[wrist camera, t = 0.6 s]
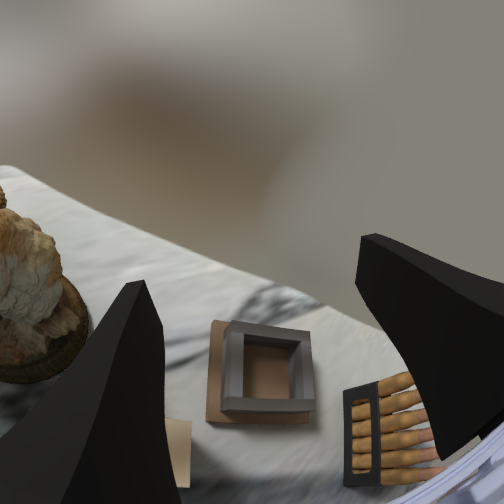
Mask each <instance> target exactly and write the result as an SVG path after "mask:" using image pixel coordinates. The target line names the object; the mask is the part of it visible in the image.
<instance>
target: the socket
mask: <svg viewBox="0 0 504 504" xmlns="http://www.w3.org/2000/svg"><path fill="white" fill-rule="evenodd" d="M314 410H315V399H314V381H313V366H312V352H311V339H310V331H302V330H294V329H287V328H280V327H272V326H266V325H259V324H252V323H246V322H240V321H234V320H232V321H231V322H225V321H219V320H214V321H213V322H212V323H211V336H210V350H209V366H208V383H207V402H206V422H218V423H235V424H302V423H309V419H308V412H310V411H314Z"/></svg>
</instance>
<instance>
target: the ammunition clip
mask: <svg viewBox="0 0 504 504" xmlns="http://www.w3.org/2000/svg"><path fill="white" fill-rule="evenodd" d="M414 384H415V383H414V380H413V378H412V376H411V374H410V372H409V371H407V372H402V373H399V374H396V375H394V376H391V377H389V378H386V379H383V380H381V381H376V382H372V383H369V384H365V385H362V386H358V387H354V388H351V389H347V390H344V391H343V408H344V478H343V485H344V486H380V485H405V484H411V483H414V482H422V481H427V480H429V479H430V478H432V477H433V476H435V475H436V474H438V473H439V472H441V471H442V470H444V469H445V467H428V468H413V467H407V468H394V467H405V466H410V465H413V464H417V463H423V462H427V461H432V460H435V459H439V456H438V454H437V451H436V447H431V448H425V449H424V448H422V449H403V450H396V451H394V450H395V449H402V448H408V447H411V446H413V445H416V444H420V443H423V442H428V441H432V440H434V437H433V433H432V430H431V427H429V428H425V429H418V430H405V431H400V432H394V431H399V430H404V429H408V428H410V427H412V426H414V425H417V424H421V423H423V422H427V421H429V419H428V416H427V413H426V410H425V408H423V409H418V410H414V411H404V412H400V413H396V414H392V413H394V412H398V411H401V410H405V409H408V408H410V407H412V406H413V405H416V404H418V403H421V402H422V399H421V397H420V394H419V392H418V390H417V389H416V390H412V391H405V392H402V393H398V394H395V395H392V396H391V394H394V393H397V392H400V391H402V390H405V389H407V388H409V387H411V386H412V385H414ZM379 398H381V399H379ZM368 401H370V402H368ZM365 402H368V403H365ZM383 415H384V417H380V416H383ZM370 418H371V419H370ZM365 419H370V420H365ZM393 432H394V433H393ZM383 433H384V434H383ZM381 434H383V435H381ZM366 436H369V437H366ZM381 451H385V452H381ZM369 452H371V453H369ZM381 468H382V469H381Z"/></svg>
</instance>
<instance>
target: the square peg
mask: <svg viewBox="0 0 504 504" xmlns="http://www.w3.org/2000/svg"><path fill="white" fill-rule="evenodd" d="M165 427H166V434H167V440H168V447H169V452H170V458H171V463H172V468H173V472H174V477H175V481H176V485H177V487H186V488H190V457H191V432H192V421H185V420H177V419H170V418H165Z"/></svg>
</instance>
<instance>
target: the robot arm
mask: <svg viewBox="0 0 504 504" xmlns="http://www.w3.org/2000/svg"><path fill="white" fill-rule="evenodd" d="M355 284H356V286H357V288H358V290H359V292H360V294H361V296H362V298H363V300H364V302H365V303H366V305H367V307H368V308H369V310H370V311H371V313H372V314H373V316H374V317H375V319H376V320H377V321H378V323H379V324H380V326H381V327H382V328H383V330H384V331H385V333H386V334H387V336H388V337H389V339H390V340H391V341H392V343H393V344H394V346H395V347H396V349H397V350H398V352H399V353H400V355H401V357H402V358H403V360H404V362H405V364H406V366H407V368H408V370H409V372H410V374H411V376H412V378H413V380H414V383H415V385H416V387H417V390H418V392H419V394H420V397H421V399H422V402H423V405H424V407H425V410H426V413H427V416H428V419H429V422H430V426H431V430H432V433H433V437H434V441H435V446H436V451H437V454H438V456H439V458H440V459H441V461H443V460H445V459H446V458H448V457H449V456H451V455H452V454H453V453H455V452H456V451H458V450H459V449H460V448H462V447H463V446H464V445H466V444H467V443H468V442H470V441H471V440H472V439H473V438H475V437H476V436H477V435H479V437H480V439H481V440H482V441H480V442H479V443H478V444H477V445H476V446H474V447H473V448H472V449H471V450H469V451H468V452H467V453H466V454H464V455H463V456H462V457H460V458H459V459H458V460H457V461H455V462H454V463H452V464H451V465H449V466H448V467H447V468H445V469H444V470H442V471H441V472H439V473H438V474H436V475H435V476H433V477H432V478H430V479H429V480H427V481H425V482H424V483H422V484H420V485H419V486H417V487H415V488H414V489H412V490H410V491H408V492H407V493H405V494H403V495H401V496H399V497H397V498H396V499H394V500H392V501H390V502H388V503H386V504H429V503H431V502H433V501H434V500H436V499H437V498H439V497H440V496H441V495H443V494H444V493H446V492H447V491H448V492H447V493H446V494H445V495H444V496H442V497H441V498H440V499H439V500H438V501H437V504H504V284H503V283H500V282H496V281H493V280H490V279H487V278H484V277H481V276H478V275H475V274H472V273H469V272H466V271H464V270H461V269H459V268H457V267H454V266H452V265H450V264H447V263H445V262H442V261H440V260H438V259H435V258H433V257H431V256H429V255H427V254H424V253H422V252H420V251H418V250H416V249H414V248H411V247H409V246H407V245H405V244H403V243H400V242H398V241H396V240H393V239H391V238H388V237H386V236H383V235H380V234H377V233H374V234H369V235H365V236H361V243H360V251H359V259H358V266H357V273H356V280H355ZM164 385H165V347H164V335H163V325H162V323H161V321H160V318H159V316H158V313H157V311H156V309H155V306H154V304H153V301H152V299H151V296H150V294H149V291H148V288H147V286H146V283H145V281H144V280H140V281H134V282H129V283H126V284H125V286H124V287H123V288H122V290H121V291H120V293H119V294H118V296H117V297H116V299H115V300H114V302H113V303H112V305H111V306H110V308H109V309H108V311H107V312H106V314H105V315H104V317H103V318H102V320H101V321H100V323H99V324H98V326H97V327H96V329H95V330H94V332H93V333H92V335H91V336H90V337H89V339H88V340H87V342H86V343H85V345H84V346H83V348H82V349H81V350H80V352H79V353H78V355H77V356H76V357H75V359H74V360H73V361H72V363H71V364H70V365H69V367H68V368H67V369H66V370H65V372H64V373H63V374H62V375H61V377H60V378H59V379H58V380H57V382H56V383H55V384H54V385H53V386H52V387H51V388H50V390H49V391H48V392H47V393H46V394H45V395H44V396H43V397H42V398H41V399H40V401H39V402H38V403H37V404H36V405H35V406H34V407H33V408H32V409H31V410H30V411H29V412H28V413H27V414H26V415H25V416H24V417H23V418H22V419H21V420H20V421H19V422H18V423H17V424H16V425H15V426H13V427H12V428H11V429H10V430H9V431H8V432H7V433H6V434H4V435H3V436H2V437H1V438H0V504H182V503H181V500H180V496H179V492H178V489H177V485H176V481H175V477H174V472H173V468H172V463H171V458H170V452H169V447H168V440H167V434H166V427H165V413H164ZM478 467H479V470H478V472H477V473H476V474H474V475H473V476H471V477H469V478H467V479H466V480H464V479H465V478H466V477H467V476H469V475H470V474H471V473H472V472H473V471H475V470H476V469H477V468H478ZM462 480H464V481H462ZM461 481H462V482H461ZM460 482H461V483H460ZM458 483H459V484H458ZM457 484H458V485H457ZM454 486H455V487H454Z"/></svg>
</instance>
